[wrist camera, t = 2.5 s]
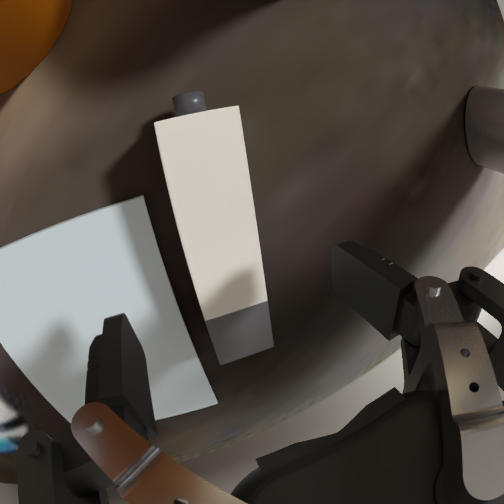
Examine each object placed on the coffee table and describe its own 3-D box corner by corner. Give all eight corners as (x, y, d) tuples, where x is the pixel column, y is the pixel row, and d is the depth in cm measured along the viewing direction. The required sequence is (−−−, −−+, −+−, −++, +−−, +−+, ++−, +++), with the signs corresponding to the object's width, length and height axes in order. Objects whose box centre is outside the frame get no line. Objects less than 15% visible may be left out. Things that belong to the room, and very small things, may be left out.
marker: (150, 106, 12) (149, 98, 9) (216, 92, 13) (234, 83, 10) (207, 329, 19) (220, 365, 16) (254, 314, 19) (274, 346, 16)
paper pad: (143, 194, 14) (143, 196, 13) (217, 400, 22) (218, 403, 22) (-39, 266, 10) (-41, 269, 10) (80, 429, 19) (80, 432, 18)
